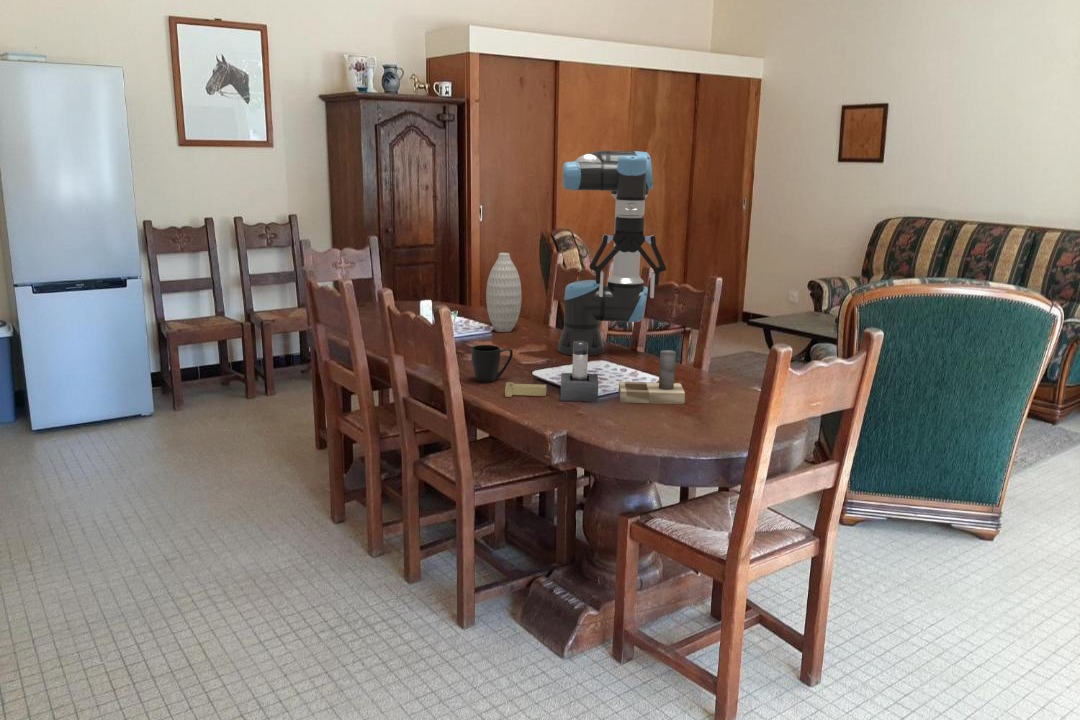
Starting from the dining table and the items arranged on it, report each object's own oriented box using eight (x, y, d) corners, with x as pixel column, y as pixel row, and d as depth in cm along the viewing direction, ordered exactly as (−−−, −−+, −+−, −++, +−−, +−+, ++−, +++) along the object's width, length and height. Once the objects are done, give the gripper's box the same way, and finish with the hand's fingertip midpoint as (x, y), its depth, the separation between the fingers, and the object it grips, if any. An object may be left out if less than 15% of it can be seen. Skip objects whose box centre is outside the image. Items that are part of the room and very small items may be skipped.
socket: (560, 390, 239) (561, 372, 238) (596, 391, 239) (597, 373, 237) (560, 400, 229) (560, 382, 228) (597, 401, 229) (598, 383, 228)
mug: (515, 382, 246) (516, 350, 244) (474, 384, 243) (474, 352, 240) (508, 374, 254) (509, 343, 251) (469, 377, 250) (468, 345, 248)
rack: (618, 391, 238) (620, 346, 235) (679, 393, 238) (682, 348, 235) (620, 402, 229) (622, 355, 226) (684, 404, 228) (687, 356, 225)
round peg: (571, 393, 236) (573, 340, 232) (586, 394, 236) (588, 340, 232) (571, 397, 232) (573, 343, 228) (586, 398, 232) (588, 344, 228)
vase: (506, 325, 322) (507, 250, 315) (528, 331, 313) (529, 254, 306) (479, 329, 314) (479, 252, 307) (500, 335, 305) (500, 256, 298)
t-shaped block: (506, 390, 237) (506, 382, 237) (546, 391, 237) (546, 383, 237) (505, 396, 232) (505, 387, 231) (545, 397, 231) (545, 389, 231)
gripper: (582, 216, 221) (580, 297, 226) (679, 218, 220) (674, 300, 226) (581, 214, 228) (579, 293, 233) (675, 216, 228) (671, 295, 233)
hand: (626, 296), depth 229 cm, fingers open, 13 cm apart
